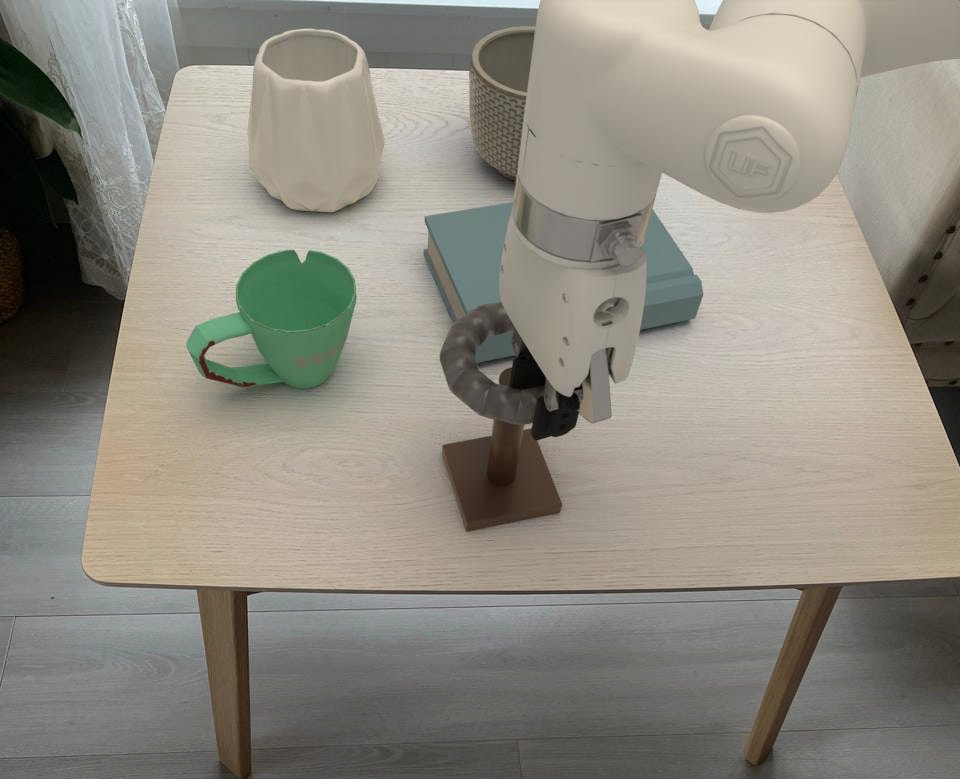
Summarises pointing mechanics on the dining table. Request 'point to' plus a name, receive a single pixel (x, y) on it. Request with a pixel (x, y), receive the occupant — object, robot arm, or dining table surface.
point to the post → (500, 475)
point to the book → (477, 259)
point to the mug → (284, 321)
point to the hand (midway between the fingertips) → (541, 411)
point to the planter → (500, 95)
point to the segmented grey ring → (471, 381)
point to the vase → (314, 121)
